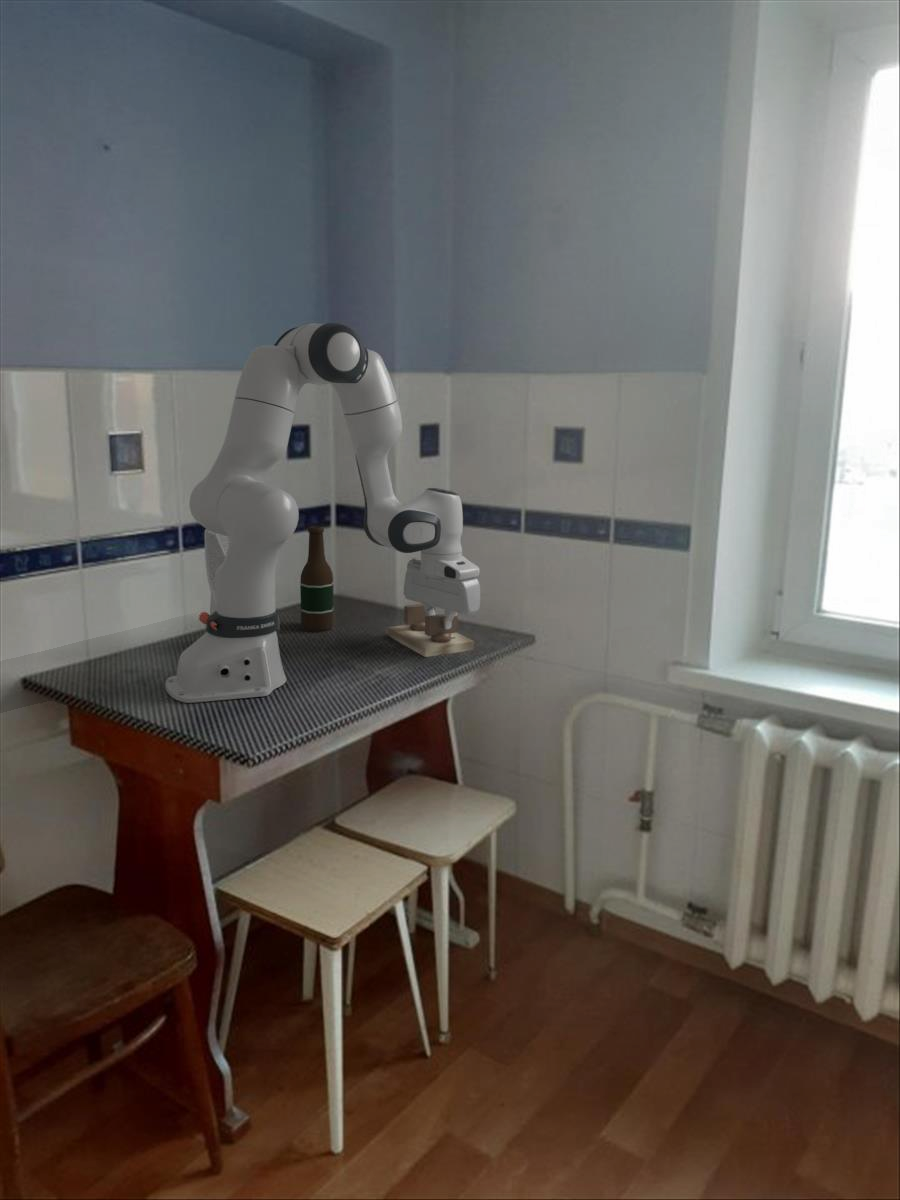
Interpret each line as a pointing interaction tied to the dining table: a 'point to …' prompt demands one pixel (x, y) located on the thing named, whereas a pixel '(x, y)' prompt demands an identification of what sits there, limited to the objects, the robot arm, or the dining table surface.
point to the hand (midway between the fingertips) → (439, 626)
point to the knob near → (439, 628)
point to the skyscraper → (214, 560)
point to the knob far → (415, 616)
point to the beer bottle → (316, 586)
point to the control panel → (429, 641)
